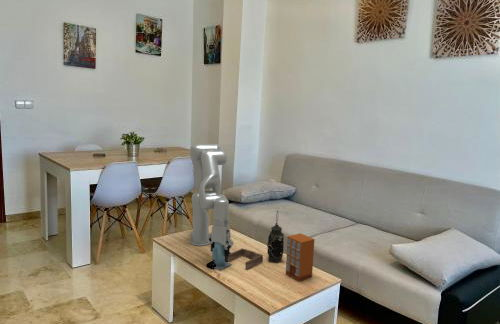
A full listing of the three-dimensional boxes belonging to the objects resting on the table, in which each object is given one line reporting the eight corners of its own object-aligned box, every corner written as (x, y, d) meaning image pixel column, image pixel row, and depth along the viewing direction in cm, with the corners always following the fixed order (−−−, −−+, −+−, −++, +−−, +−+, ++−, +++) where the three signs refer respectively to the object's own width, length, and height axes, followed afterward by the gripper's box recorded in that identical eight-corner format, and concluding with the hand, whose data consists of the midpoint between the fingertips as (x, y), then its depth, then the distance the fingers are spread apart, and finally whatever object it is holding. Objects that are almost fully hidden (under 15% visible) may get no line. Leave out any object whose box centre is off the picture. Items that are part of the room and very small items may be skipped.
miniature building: (284, 274, 194) (286, 236, 191) (297, 270, 199) (300, 233, 196) (298, 282, 186) (300, 242, 183) (311, 277, 192) (314, 239, 188)
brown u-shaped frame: (226, 262, 206) (226, 255, 205) (242, 254, 216) (243, 248, 216) (247, 270, 197) (247, 262, 196) (263, 262, 208) (263, 255, 207)
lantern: (281, 264, 206) (284, 213, 201) (265, 262, 207) (267, 212, 203) (283, 257, 215) (286, 209, 211) (267, 255, 217) (270, 207, 212)
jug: (219, 260, 205) (219, 239, 203) (227, 263, 202) (227, 242, 200) (208, 265, 199) (209, 243, 197) (216, 268, 196) (217, 246, 194)
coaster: (207, 265, 201) (207, 264, 201) (219, 260, 208) (219, 259, 208) (220, 270, 195) (220, 269, 195) (231, 265, 202) (231, 264, 202)
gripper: (238, 224, 195) (237, 256, 198) (213, 216, 206) (213, 247, 209) (228, 227, 190) (227, 260, 192) (203, 219, 200) (203, 251, 203)
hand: (219, 253), depth 201 cm, fingers open, 9 cm apart
